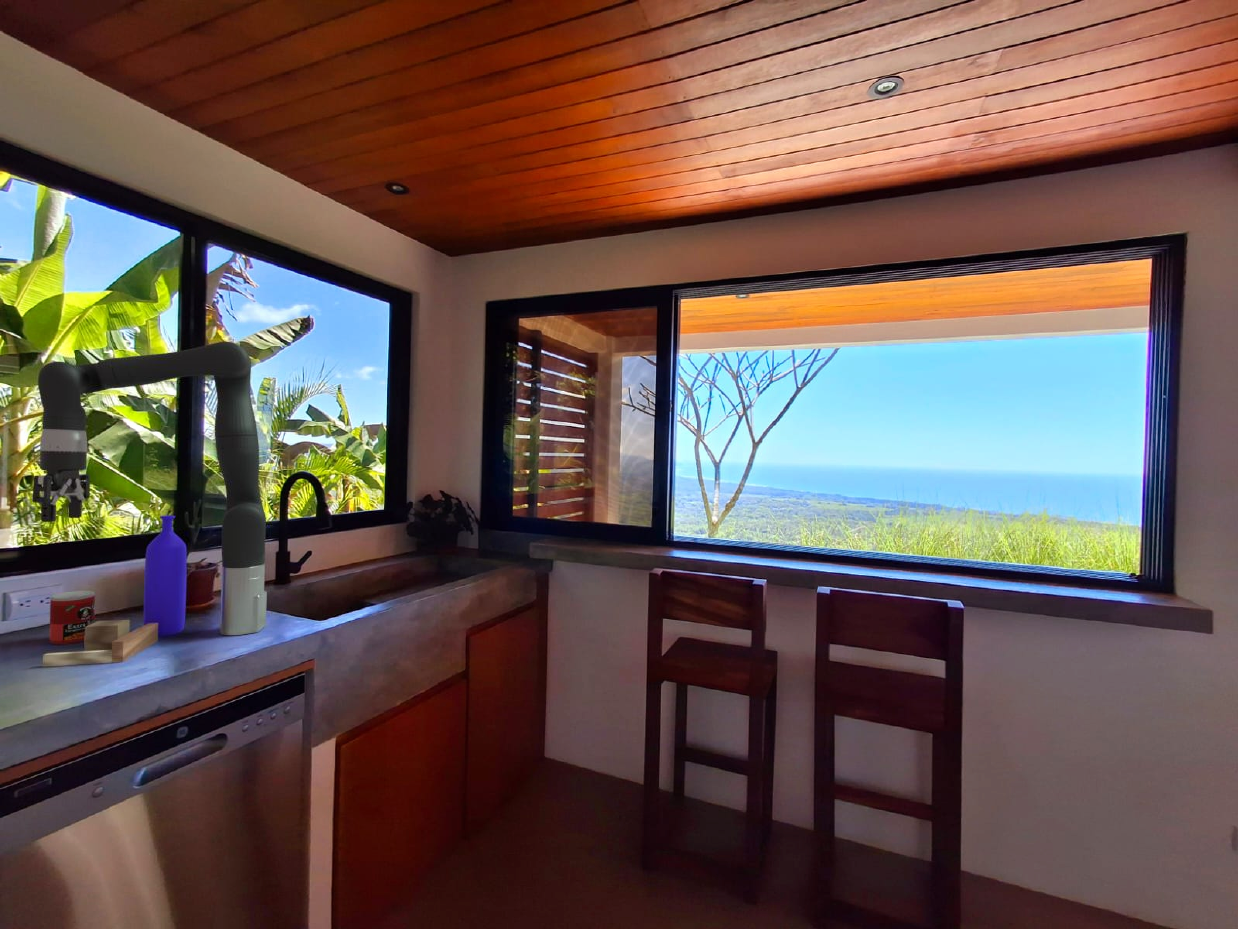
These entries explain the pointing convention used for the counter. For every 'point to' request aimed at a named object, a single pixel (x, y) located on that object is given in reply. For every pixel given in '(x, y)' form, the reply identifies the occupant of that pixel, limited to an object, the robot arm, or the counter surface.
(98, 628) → the block
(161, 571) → the bottle
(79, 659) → the channel
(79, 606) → the canned food
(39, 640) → the counter surface
